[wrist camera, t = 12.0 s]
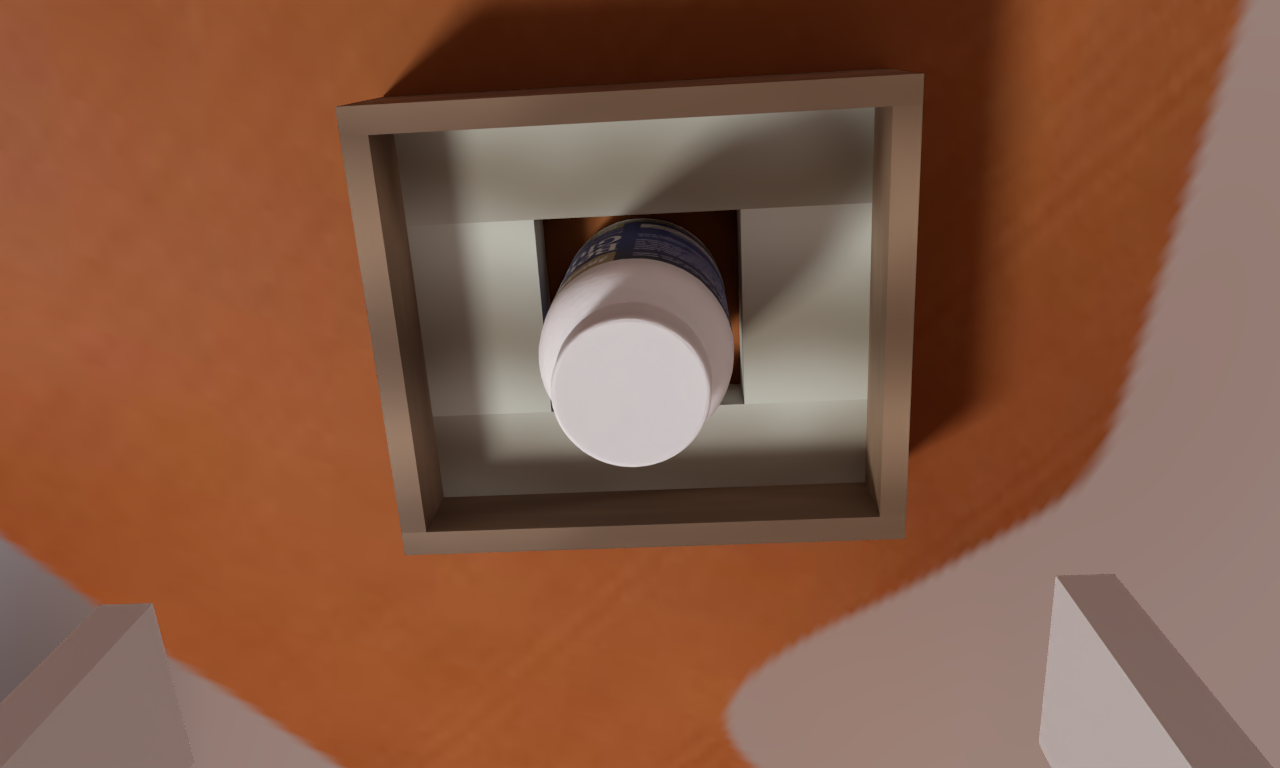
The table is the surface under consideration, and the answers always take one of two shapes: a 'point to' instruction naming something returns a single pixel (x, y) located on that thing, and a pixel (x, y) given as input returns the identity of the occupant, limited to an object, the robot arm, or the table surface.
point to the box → (631, 185)
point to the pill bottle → (637, 343)
